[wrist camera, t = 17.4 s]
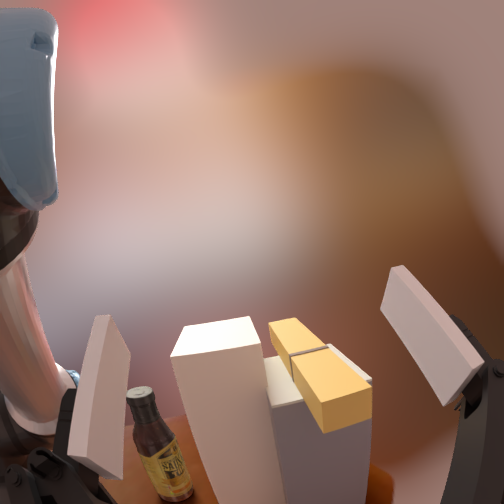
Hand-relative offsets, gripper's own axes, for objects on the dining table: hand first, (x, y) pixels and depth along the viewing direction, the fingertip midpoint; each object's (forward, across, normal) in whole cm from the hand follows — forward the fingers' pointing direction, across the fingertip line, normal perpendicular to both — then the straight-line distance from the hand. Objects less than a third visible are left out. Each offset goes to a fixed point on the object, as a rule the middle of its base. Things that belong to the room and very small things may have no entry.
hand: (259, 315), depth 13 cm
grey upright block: (-3, +6, -37) cm, 38 cm away
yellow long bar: (+8, +6, -18) cm, 21 cm away
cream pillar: (0, -3, -39) cm, 39 cm away
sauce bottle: (+1, -15, -40) cm, 43 cm away
